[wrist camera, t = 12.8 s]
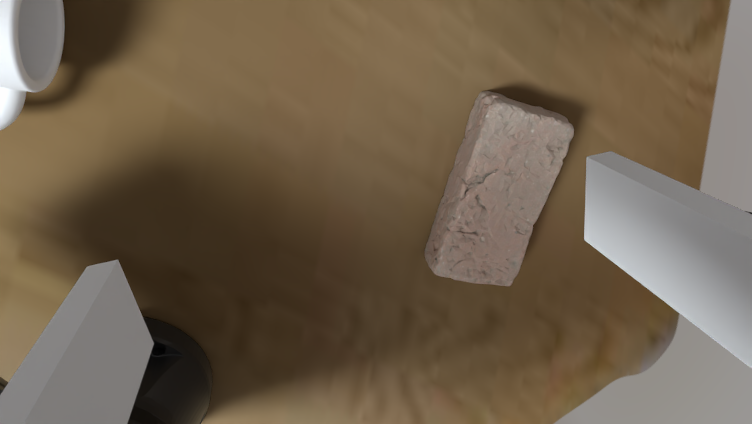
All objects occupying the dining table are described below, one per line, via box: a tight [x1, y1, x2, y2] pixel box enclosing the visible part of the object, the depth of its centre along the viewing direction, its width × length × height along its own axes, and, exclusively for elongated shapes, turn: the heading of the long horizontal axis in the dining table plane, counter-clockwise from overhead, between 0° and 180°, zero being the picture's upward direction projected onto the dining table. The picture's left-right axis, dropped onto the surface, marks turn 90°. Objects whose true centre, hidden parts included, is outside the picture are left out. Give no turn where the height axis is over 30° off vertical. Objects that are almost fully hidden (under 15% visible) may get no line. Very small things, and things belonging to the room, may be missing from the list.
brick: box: [425, 91, 574, 286], centre depth 45 cm, size 17×8×5 cm, turn 164°
